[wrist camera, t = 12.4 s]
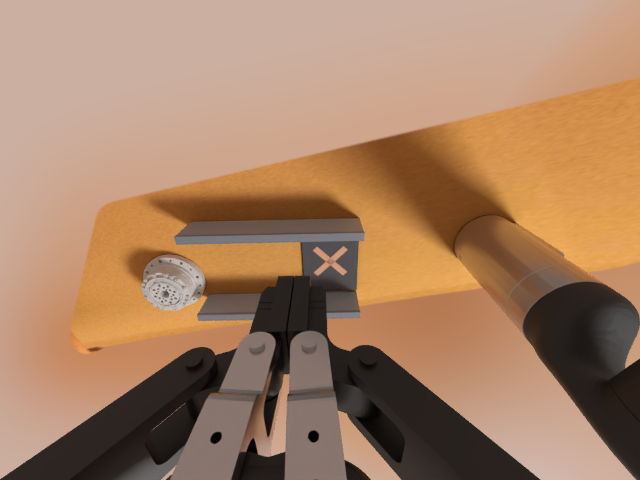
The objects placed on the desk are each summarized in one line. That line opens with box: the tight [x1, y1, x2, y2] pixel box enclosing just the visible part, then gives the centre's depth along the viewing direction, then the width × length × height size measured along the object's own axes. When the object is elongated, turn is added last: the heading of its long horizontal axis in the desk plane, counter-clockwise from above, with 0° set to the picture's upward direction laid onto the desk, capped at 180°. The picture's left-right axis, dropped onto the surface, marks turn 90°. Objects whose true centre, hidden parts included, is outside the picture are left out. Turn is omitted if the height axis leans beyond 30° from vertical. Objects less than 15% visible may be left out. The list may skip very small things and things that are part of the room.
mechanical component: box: [141, 254, 206, 311], centre depth 46 cm, size 10×4×10 cm
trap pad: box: [302, 241, 359, 291], centre depth 46 cm, size 9×12×1 cm
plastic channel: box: [174, 218, 364, 321], centre depth 44 cm, size 26×15×6 cm, turn 91°
